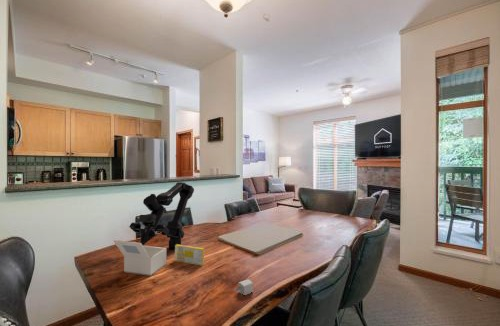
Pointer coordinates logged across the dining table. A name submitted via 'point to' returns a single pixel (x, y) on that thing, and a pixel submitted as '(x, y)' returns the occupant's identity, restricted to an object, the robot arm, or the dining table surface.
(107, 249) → the dining table surface
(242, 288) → the usb wall charger
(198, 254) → the candy box
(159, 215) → the robot arm
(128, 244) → the carton flap
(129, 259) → the carton
